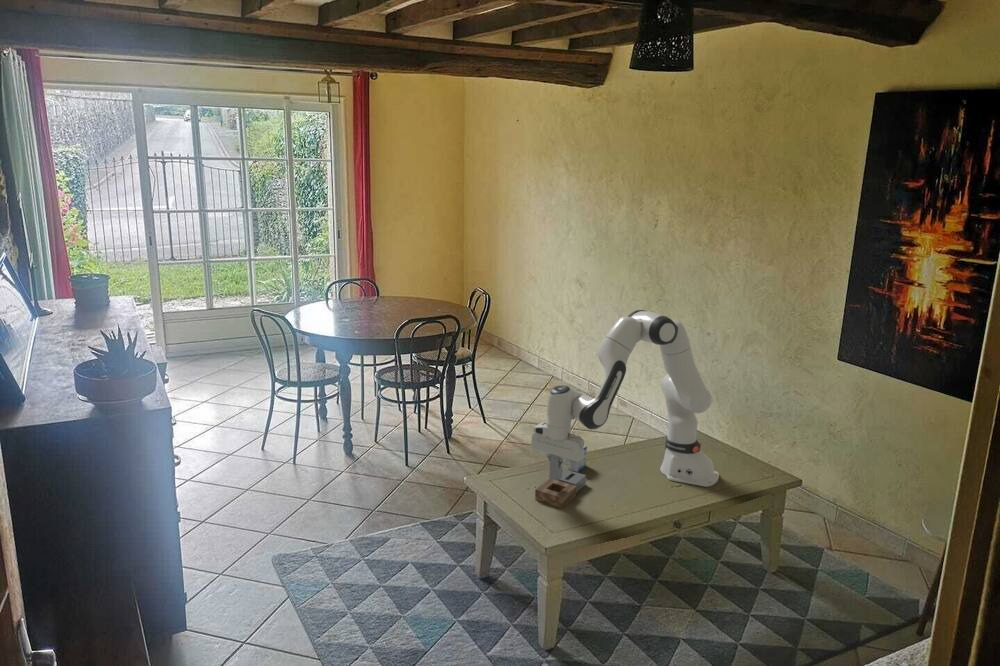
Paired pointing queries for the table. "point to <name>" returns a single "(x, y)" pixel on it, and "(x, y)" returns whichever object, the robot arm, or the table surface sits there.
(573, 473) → the grey slot block
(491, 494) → the table surface
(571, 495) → the walnut bore block
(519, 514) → the table surface
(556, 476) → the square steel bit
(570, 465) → the medicine box
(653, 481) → the table surface
